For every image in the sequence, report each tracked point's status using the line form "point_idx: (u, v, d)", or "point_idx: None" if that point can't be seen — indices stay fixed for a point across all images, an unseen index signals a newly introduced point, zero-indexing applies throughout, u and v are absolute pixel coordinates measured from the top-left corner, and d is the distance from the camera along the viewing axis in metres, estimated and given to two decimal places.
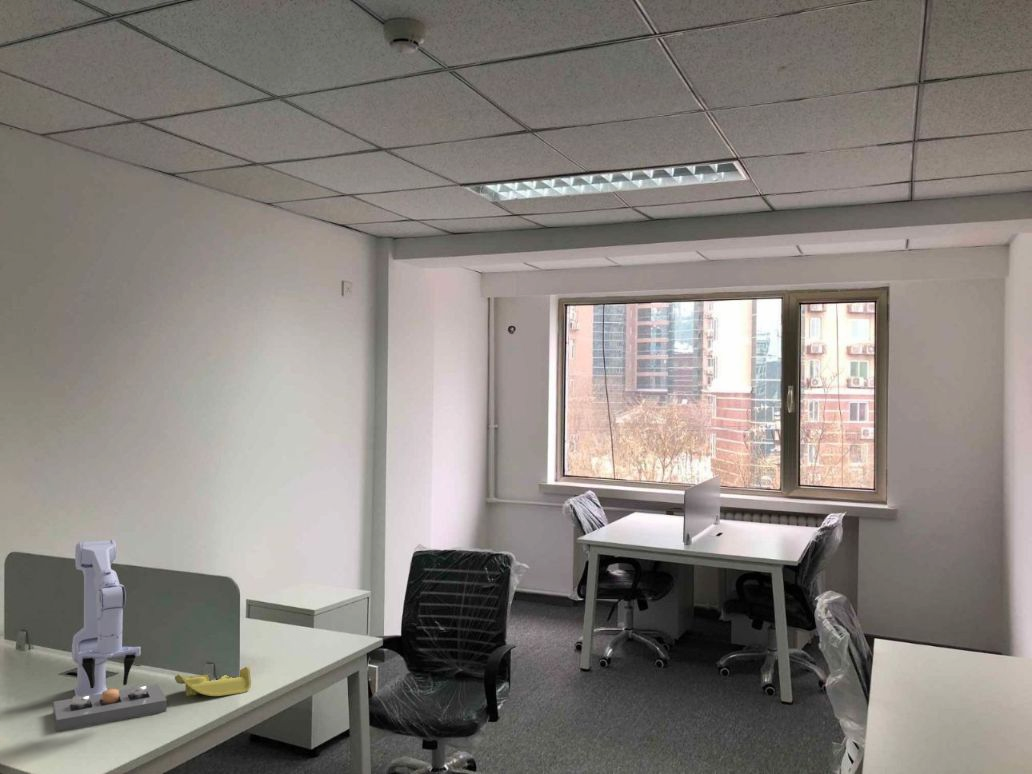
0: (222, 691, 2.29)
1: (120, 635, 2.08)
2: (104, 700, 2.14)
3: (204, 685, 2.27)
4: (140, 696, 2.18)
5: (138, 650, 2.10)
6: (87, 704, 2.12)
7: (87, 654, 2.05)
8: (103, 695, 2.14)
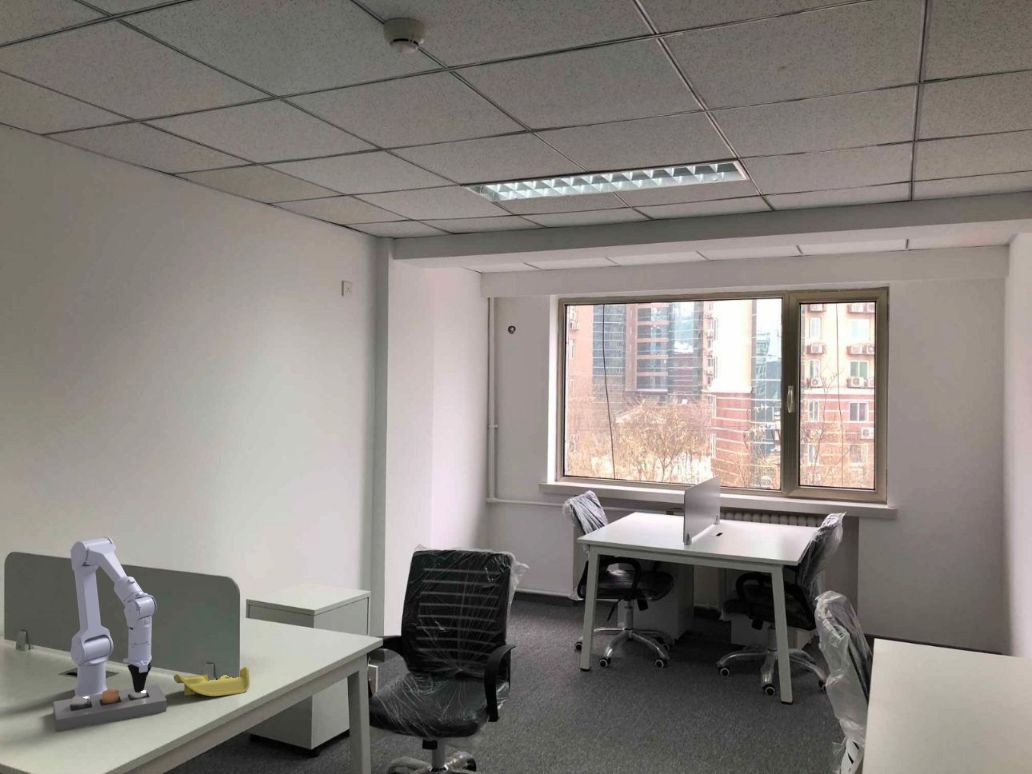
0: (220, 691, 2.29)
1: (136, 646, 2.17)
2: (104, 700, 2.14)
3: (202, 685, 2.27)
4: None
5: (139, 666, 2.13)
6: (87, 704, 2.12)
7: None
8: (103, 695, 2.14)
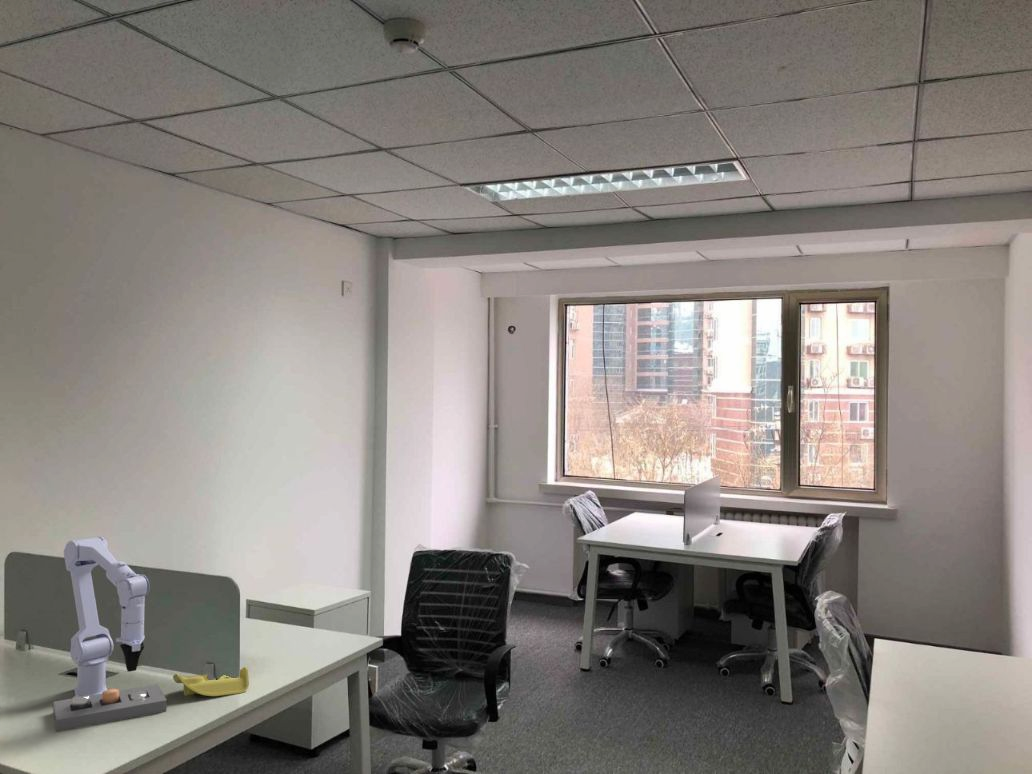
0: (219, 691, 2.29)
1: (129, 625, 2.16)
2: (104, 700, 2.14)
3: (201, 685, 2.27)
4: None
5: (132, 645, 2.13)
6: (87, 704, 2.12)
7: None
8: (103, 695, 2.14)
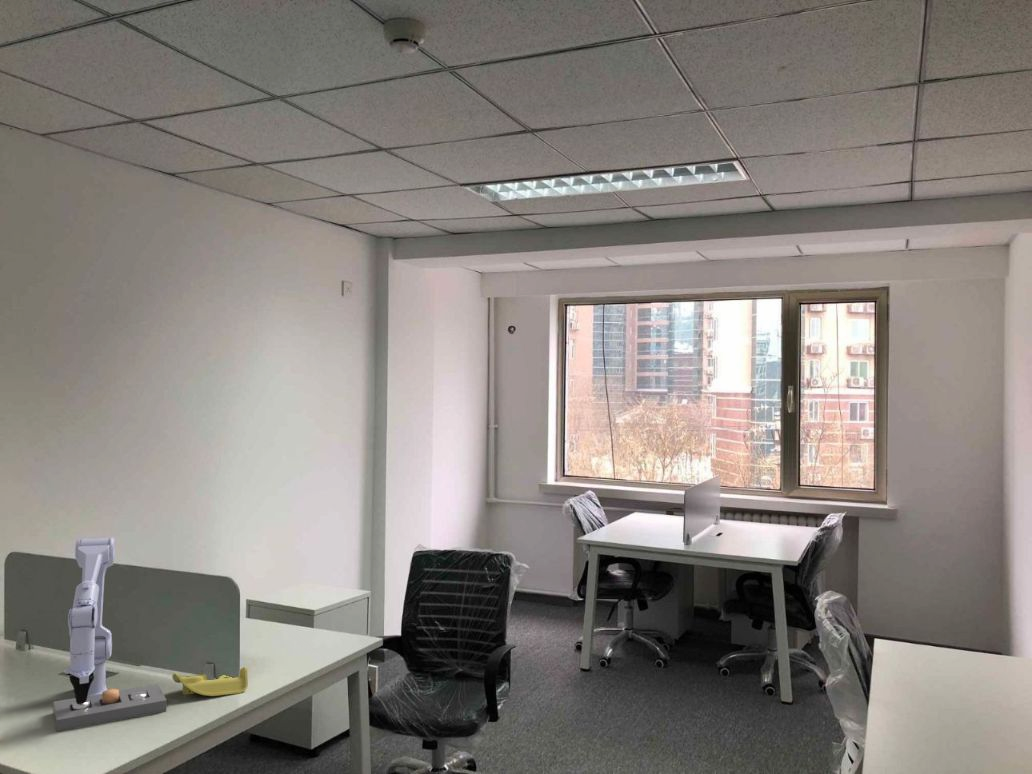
0: (218, 691, 2.29)
1: (78, 656, 2.09)
2: (104, 700, 2.14)
3: (200, 685, 2.27)
4: None
5: (80, 677, 2.06)
6: None
7: None
8: (103, 695, 2.14)
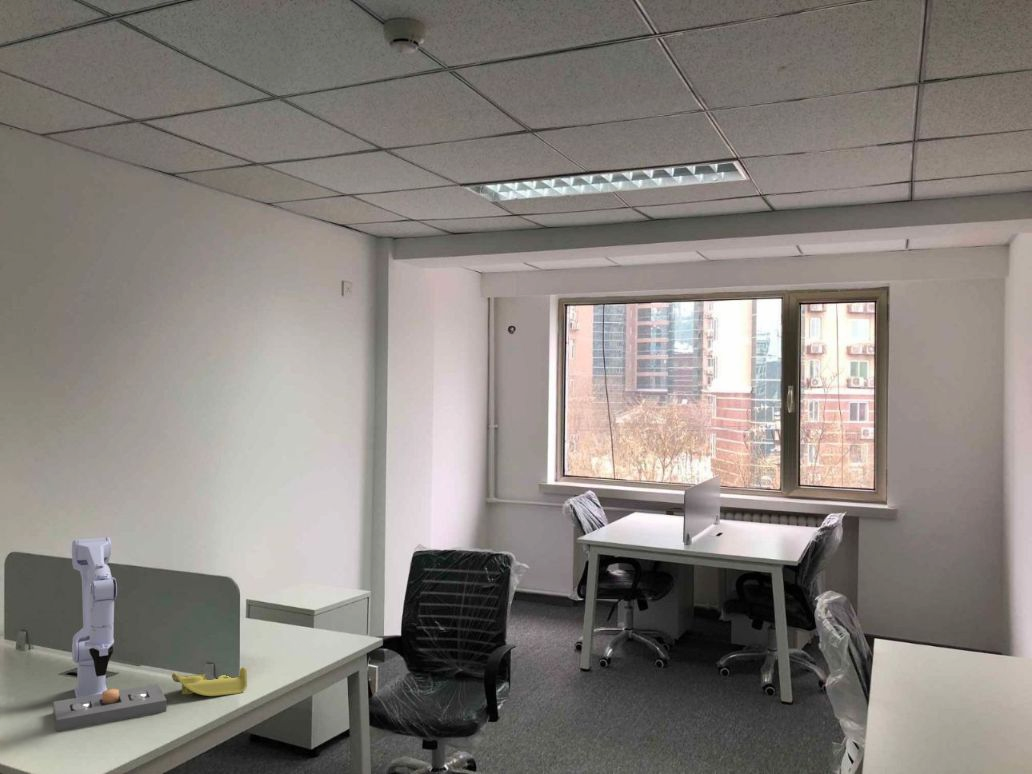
0: (217, 691, 2.29)
1: (97, 629, 2.12)
2: (104, 700, 2.14)
3: (199, 685, 2.27)
4: None
5: (99, 650, 2.08)
6: None
7: None
8: (103, 695, 2.14)
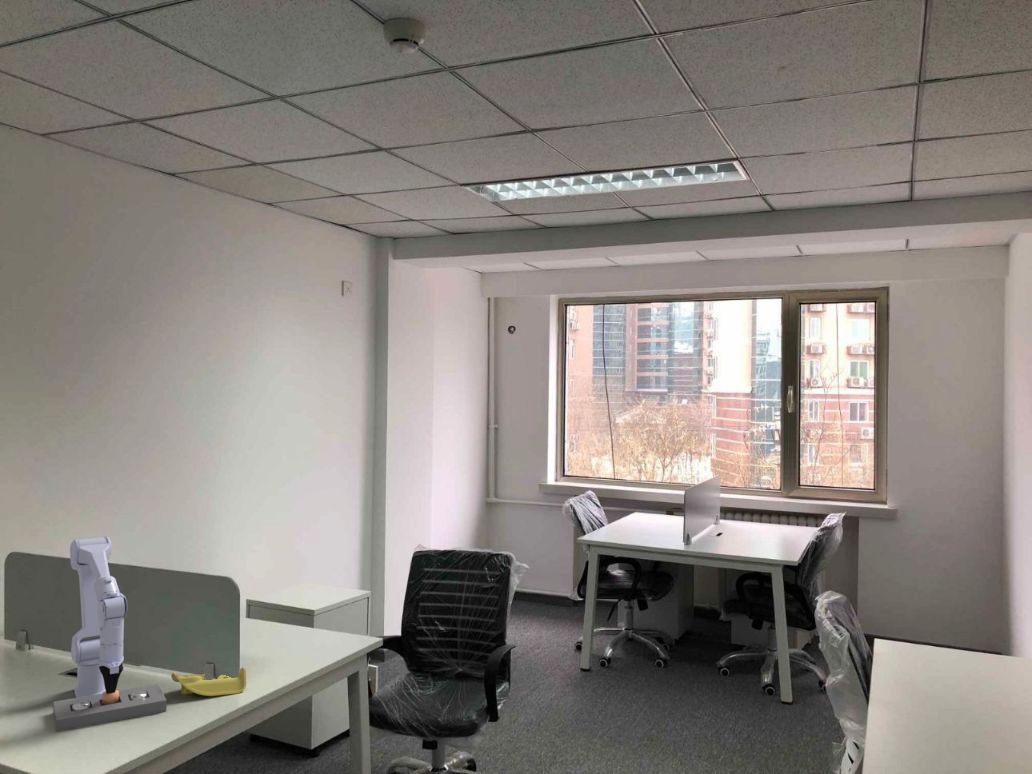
0: (216, 691, 2.29)
1: (108, 647, 2.13)
2: (104, 701, 2.14)
3: (198, 685, 2.27)
4: None
5: (110, 668, 2.10)
6: None
7: None
8: (103, 696, 2.14)
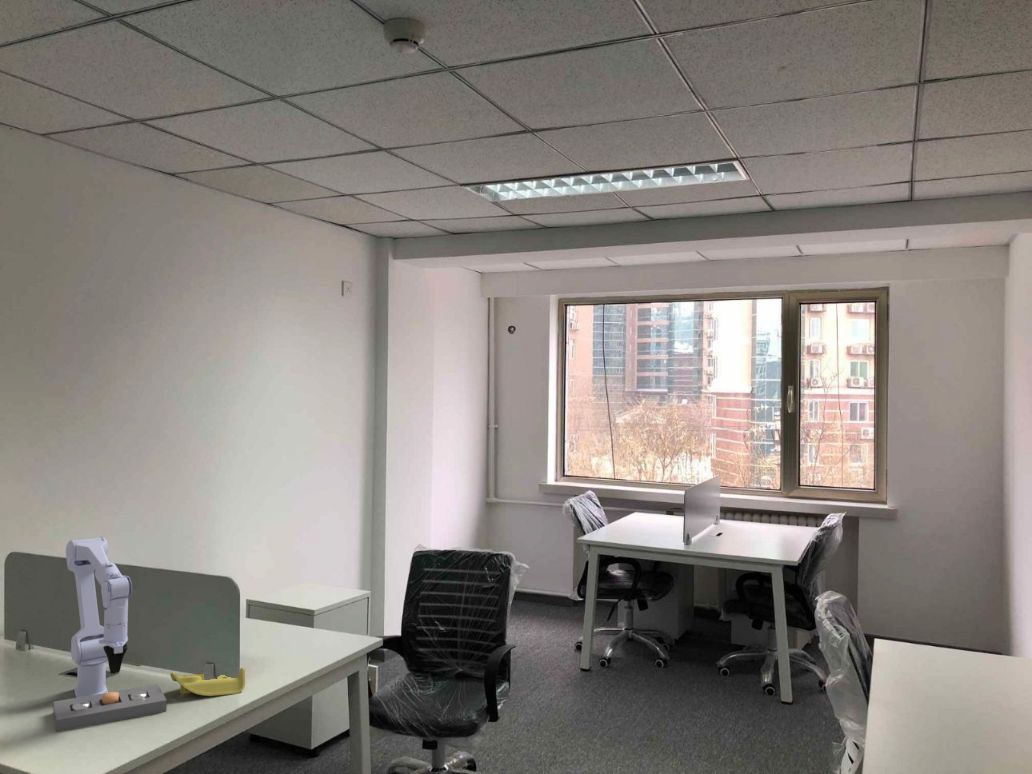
0: (215, 691, 2.29)
1: (112, 627, 2.14)
2: (104, 703, 2.14)
3: (196, 684, 2.28)
4: None
5: (114, 647, 2.11)
6: None
7: None
8: (103, 698, 2.14)
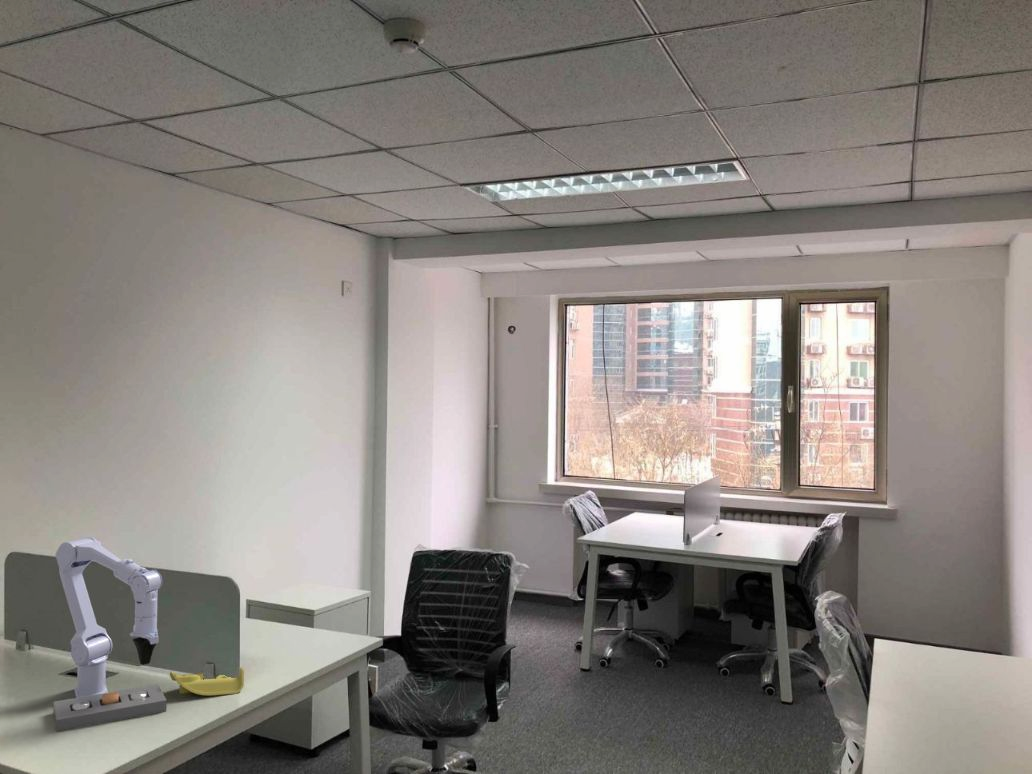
0: (213, 691, 2.29)
1: (145, 619, 2.22)
2: (104, 703, 2.14)
3: (195, 684, 2.28)
4: None
5: (150, 638, 2.19)
6: None
7: (134, 628, 2.27)
8: (103, 698, 2.14)
